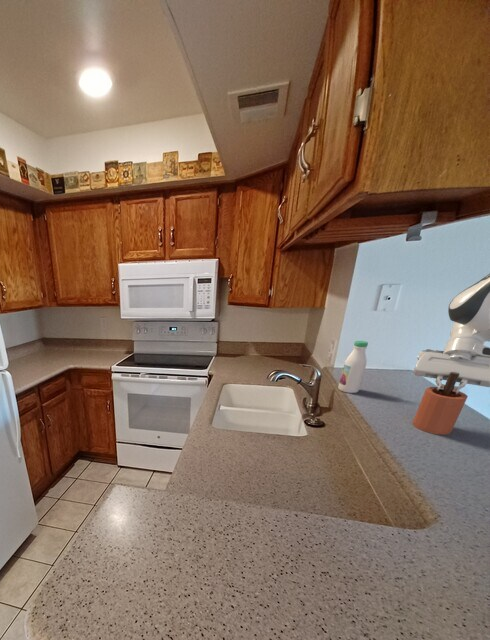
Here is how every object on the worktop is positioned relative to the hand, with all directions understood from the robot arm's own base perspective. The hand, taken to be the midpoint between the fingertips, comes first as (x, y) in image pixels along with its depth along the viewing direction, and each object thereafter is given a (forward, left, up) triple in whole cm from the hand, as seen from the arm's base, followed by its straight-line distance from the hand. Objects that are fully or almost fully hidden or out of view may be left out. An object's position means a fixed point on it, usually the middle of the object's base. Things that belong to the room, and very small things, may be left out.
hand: (447, 391), depth 100 cm
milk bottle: (+22, -29, -13) cm, 38 cm away
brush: (0, 0, -9) cm, 9 cm away
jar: (0, -1, -12) cm, 13 cm away
